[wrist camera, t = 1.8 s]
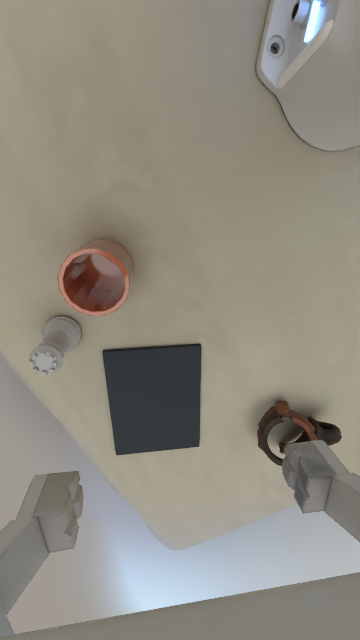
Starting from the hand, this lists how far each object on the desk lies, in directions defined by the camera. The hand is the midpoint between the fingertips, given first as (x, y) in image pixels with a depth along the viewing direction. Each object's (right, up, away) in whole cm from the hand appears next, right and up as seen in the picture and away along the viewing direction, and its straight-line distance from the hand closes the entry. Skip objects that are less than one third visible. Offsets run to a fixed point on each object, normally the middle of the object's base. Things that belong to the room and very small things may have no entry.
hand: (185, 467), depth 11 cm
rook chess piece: (-15, +4, +25) cm, 29 cm away
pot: (-9, +12, +22) cm, 27 cm away
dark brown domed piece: (+17, -10, +35) cm, 40 cm away
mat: (-4, -6, +30) cm, 31 cm away
